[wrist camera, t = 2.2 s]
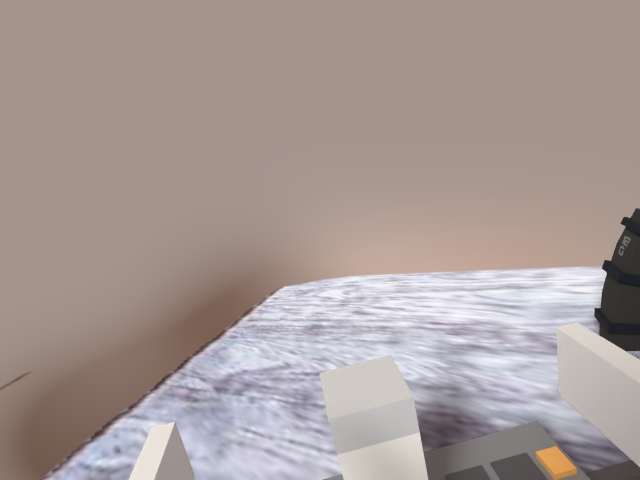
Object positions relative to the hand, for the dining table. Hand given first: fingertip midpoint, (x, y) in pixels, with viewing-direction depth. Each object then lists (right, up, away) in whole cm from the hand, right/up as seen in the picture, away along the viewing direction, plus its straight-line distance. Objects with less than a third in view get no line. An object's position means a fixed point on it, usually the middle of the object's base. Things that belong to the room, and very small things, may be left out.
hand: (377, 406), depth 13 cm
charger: (+3, -15, +14) cm, 21 cm away
